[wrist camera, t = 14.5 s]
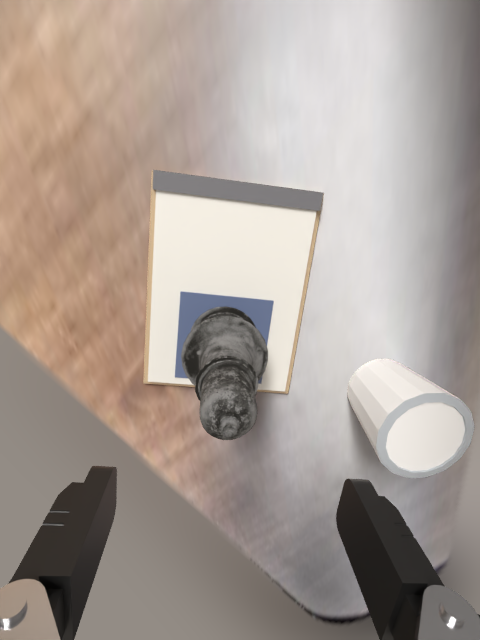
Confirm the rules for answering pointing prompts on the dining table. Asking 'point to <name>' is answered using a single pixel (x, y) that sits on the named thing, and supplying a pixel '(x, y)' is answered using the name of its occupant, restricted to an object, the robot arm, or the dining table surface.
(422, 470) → the shot glass
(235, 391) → the dark grey chess bishop
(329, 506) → the dining table surface
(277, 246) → the order pad
